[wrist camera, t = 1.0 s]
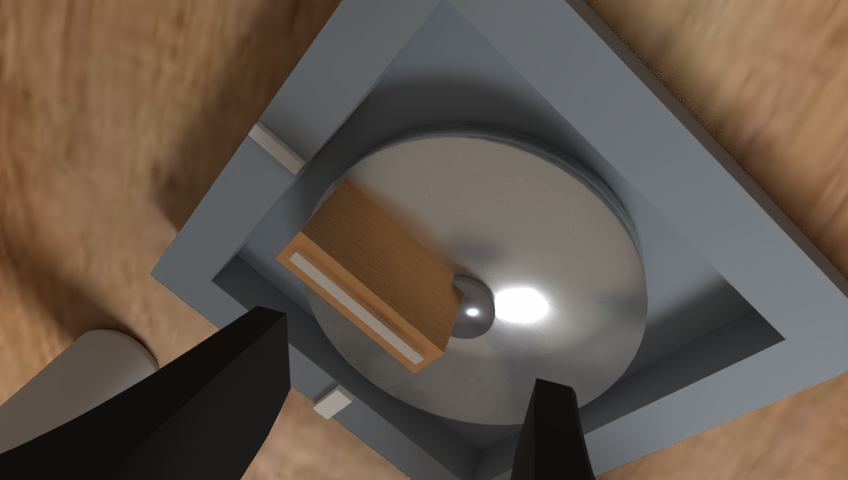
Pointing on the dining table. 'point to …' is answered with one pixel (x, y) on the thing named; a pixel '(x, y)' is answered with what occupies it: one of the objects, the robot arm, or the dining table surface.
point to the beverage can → (74, 385)
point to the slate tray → (580, 138)
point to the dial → (474, 271)
